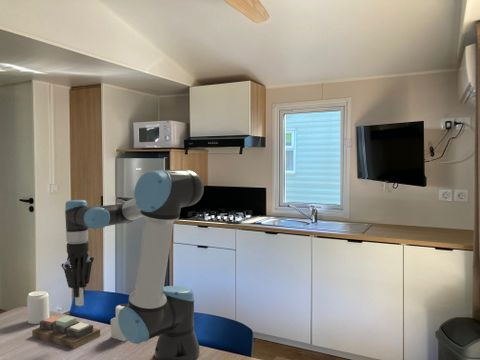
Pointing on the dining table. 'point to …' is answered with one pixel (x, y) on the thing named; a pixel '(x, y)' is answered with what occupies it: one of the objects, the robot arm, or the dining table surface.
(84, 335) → the button panel
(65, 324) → the sage button
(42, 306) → the white canister
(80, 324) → the cream button
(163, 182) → the robot arm
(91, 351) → the dining table surface
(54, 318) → the terracotta button
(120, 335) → the medicine bottle
